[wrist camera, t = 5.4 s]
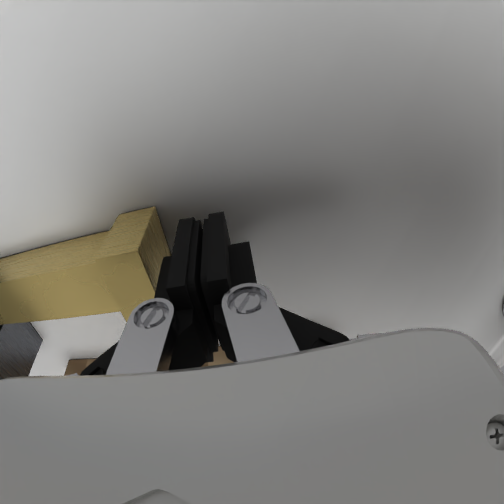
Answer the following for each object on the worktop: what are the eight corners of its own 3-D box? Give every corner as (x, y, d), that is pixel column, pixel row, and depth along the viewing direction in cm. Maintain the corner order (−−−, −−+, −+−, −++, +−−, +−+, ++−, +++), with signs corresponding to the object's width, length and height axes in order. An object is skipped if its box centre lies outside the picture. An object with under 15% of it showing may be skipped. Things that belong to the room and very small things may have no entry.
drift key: (155, 206, 12) (137, 251, 9) (179, 277, 14) (172, 330, 11) (-25, 256, 12) (-54, 292, 9) (4, 305, 14) (-17, 344, 11)
